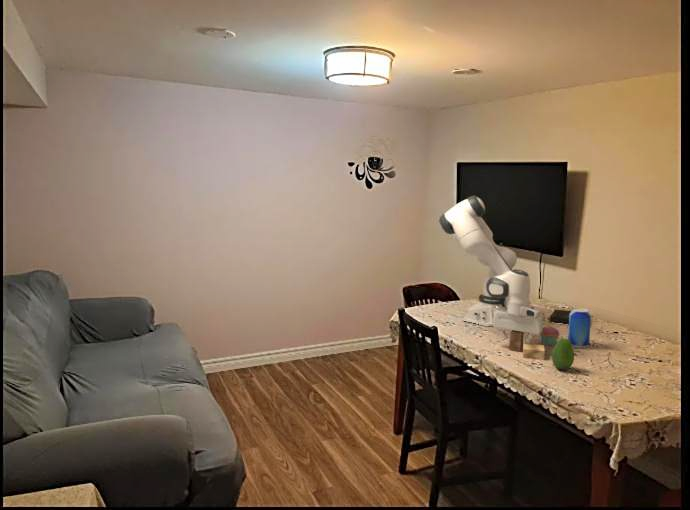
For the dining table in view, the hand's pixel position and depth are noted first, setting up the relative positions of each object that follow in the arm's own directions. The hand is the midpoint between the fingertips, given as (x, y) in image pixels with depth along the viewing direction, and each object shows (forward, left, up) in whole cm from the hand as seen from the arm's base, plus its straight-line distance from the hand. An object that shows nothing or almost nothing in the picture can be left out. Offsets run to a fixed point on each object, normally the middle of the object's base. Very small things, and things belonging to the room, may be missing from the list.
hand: (516, 340), depth 222 cm
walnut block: (0, 0, -4) cm, 4 cm away
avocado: (+21, -14, -4) cm, 26 cm away
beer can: (+21, +20, -4) cm, 29 cm away
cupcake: (+9, +18, -4) cm, 21 cm away
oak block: (+8, -4, -4) cm, 10 cm away
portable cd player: (+10, +62, -5) cm, 63 cm away
